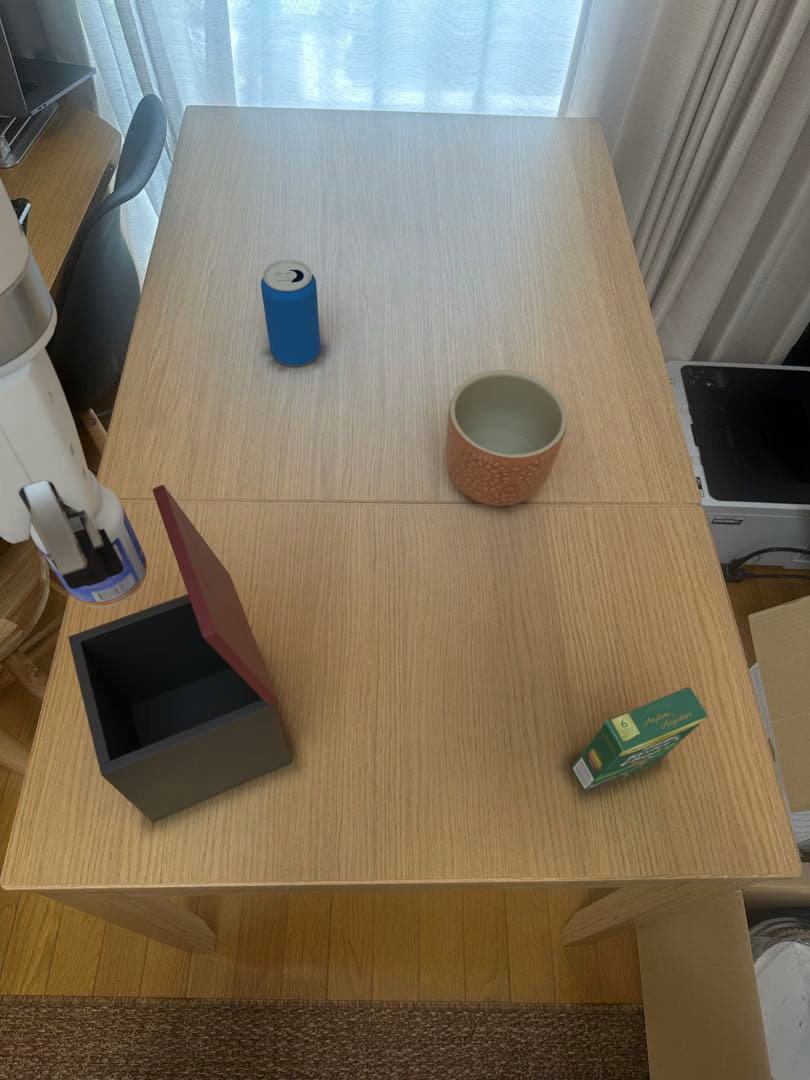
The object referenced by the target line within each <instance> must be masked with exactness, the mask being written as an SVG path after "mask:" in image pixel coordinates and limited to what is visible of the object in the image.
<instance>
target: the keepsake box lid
mask: <svg viewBox="0 0 810 1080" xmlns="http://www.w3.org/2000/svg"><path fill="white" fill-rule="evenodd" d="M152 493H153V496H154V499H155V502H156V505H157V508H158V511H159V514H160V517H161V520H162V522H163V525H164V528H165V531H166V534H167V536H168V540H169V543H170V545H171V549H172V552H173V555H174V557H175V561H176V563H177V566H178V569H179V572H180V575H181V577H182V580H183V584H184V588H185V589H186V592H187V594H188V595H189V598H190V601H191V604H192V607H193V610H194V613H195V616H196V619H197V621H198V624H199V627H200V630H201V633H202V636H203V638H204V639H205V640H206V641H207V642H208V643H209V644H210V645H211V646H212V647H213V648H214V649H215V650H216V651H217V652H218V653H219V654H220V655H221V656H222V657H223V658H224V659H225V660H226V661H227V662H228V663H229V665H230V666H231V667H232V668H233V669H234V670H235V671H236V672H237V673H238V674H239V675H240V676H241V677H242V678H243V679H244V680H245V681H246V682H247V683H248V684H249V685H250V686H251V687H252V688H253V689H254V690H255V691H256V692H257V693H258V694H259V695H260V696H261V697H262V698H263V699H264V701H265V702H266V703H267V704H271V703H275V702H277V701H278V700H279V699H278V695H277V693H276V690H275V688H274V685H273V683H272V680H271V678H270V675H269V673H268V669H267V667H266V665H265V662H264V660H263V657H262V654H261V651H260V649H259V646H258V644H257V641H256V638H255V636H254V633H253V631H252V628H251V625H250V623H249V620H248V617H247V616H246V613H245V610H244V607H243V605H242V602H241V600H240V599H241V598H240V597H239V595H238V591H237V589H236V586H235V584H234V581H233V578H232V576H231V574H230V573H229V572H228V570H227V569H226V567H225V566H224V565H223V564H222V562H221V561H220V559H219V558H218V557H217V555H216V554H215V552H214V551H213V550H212V548H211V547H210V546H209V544H208V543H207V542H206V540H205V539H204V538H203V536H202V534H200V532H199V531H198V529H197V528H196V527H195V526H194V524H193V522H192V521H191V520H190V519H189V517H188V516H187V515H186V513H185V512H184V510H183V509H182V508H181V506H180V505H179V504H178V502H177V500H175V499H174V497H173V496H172V494H171V492H169V490H168V489H167V487H166V486H165V485H164V484H159V486H156V487H154V488H152Z"/></svg>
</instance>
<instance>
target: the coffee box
mask: <svg viewBox="0 0 810 1080" xmlns="http://www.w3.org/2000/svg"><path fill="white" fill-rule="evenodd" d="M708 717H709V716H708V713H707V711H706V710H705V709H704V707H703V705H702V703H701V702H700V701H699V698H697V696H696V694H695V693H694V691H693V689H692V688H691V687H690V686H686V687H684V688H682V689H680V690H677V691H675V692H672V693H670V694H667V695H665V696H662V697H661V698H658V699H656V700H653V701H651V702H649V703H646V704H644V705H641V706H639V707H638V708H637V707H636V708H634V709H632V710H630V711H627V712H624V713H622V714H620V715H618V716H615V717H613V718H611V719H608V720H606V721H605V722H604V724H603V725H602V726H601V727H600V729H599V730H598V731H597V732H596V734H595V736H594V737H593V738H592V739H591V740H590V742H589V743H588V745H587V746H586V747H585V748H584V750H583V751H582V752H581V753H580V755H579V756H578V757H577V758H576V760H575V761H574V763H573V764H572V765H571V771H572V772H573V774H574V775H575V778H576V779H577V781H578V783H579V784H580V786H581V788H582V789H583V791H584V793H585V794H587V793H590V792H592V791H594V790H597V789H599V788H602V787H604V786H607V785H610V784H612V783H614V782H617V781H619V780H621V779H624V778H627V777H628V776H631V775H633V774H636V773H639V772H642V771H644V770H645V769H648V768H651V767H653V766H655V765H658V764H659V763H660V762H661V760H663V759H664V758H665V757H666V756H668V754H669V753H670V752H671V751H672V750H673V749H674V748H676V746H678V744H680V743H681V742H682V741H684V739H685V738H687V736H689V735H690V734H691V733H692V732H693V731H695V730H696V728H697V727H698V726H699V725H701V723H703V722H704V721H705V720H707V718H708Z"/></svg>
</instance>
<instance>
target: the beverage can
mask: <svg viewBox="0 0 810 1080" xmlns="http://www.w3.org/2000/svg"><path fill="white" fill-rule="evenodd" d="M312 271H313V270H312V268H310V266H309V265H308V264H307V263H305V262H304V261H301V260H300V259H299V260H298V259H294V258H283V259H278V260H275V261H273V262H271V263H269V264H268V265H267V266H266V267H265V268H264V270H263V273H262V277H261V281H260V290H261V295H262V296H261V297H262V303H263V311H264V317H265V318H264V319H265V324H266V331H267V339H268V344H269V351H270V355H271V356H272V358H273V359H274V360H276V361H277V362H278V363H280V364H282V365H286V366H291V367H299V366H304V365H307V364H309V363H311V362H313V361H314V360H316V359H317V358H318V356H320V353H321V350H322V344H321V331H320V318H319V302H318V301H319V300H318V290H317V289H318V288H317V280H316V277H315V275H314V274H313V272H312Z"/></svg>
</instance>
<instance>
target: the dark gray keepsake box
mask: <svg viewBox="0 0 810 1080" xmlns="http://www.w3.org/2000/svg"><path fill="white" fill-rule="evenodd" d="M68 643H69V648H70V651H71V656H72V661H73V664H74V668H75V672H76V676H77V681H78V684H79V689H80V693H81V697H82V702H83V706H84V710H85V714H86V718H87V723H88V727H89V730H90V734H91V740H92V743H93V748H94V751H95V756H96V760H97V764H98V768H99V772H100V776H101V777H103V778H104V779H105V780H106V781H107V782H108V783H109V784H110V785H111V786H112V787H113V788H115V789H116V790H117V791H118V792H119V793H120V794H121V795H122V796H123V797H124V798H125V799H126V800H127V801H129V802H130V803H131V805H133V806H134V807H135V808H136V809H137V810H138V811H140V812H141V814H143V815H144V816H145V817H146V818H147V819H148V820H149V821H150V822H151V823H152V824H155V823H158V822H160V821H162V820H165V819H167V818H169V817H172V816H173V815H176V814H178V813H180V812H183V811H185V810H187V809H190V808H192V807H195V806H197V805H199V804H201V803H204V802H206V801H209V800H210V799H213V798H216V797H218V796H220V795H222V794H225V793H227V792H229V791H231V790H234V789H236V788H239V787H241V786H243V785H245V784H247V783H250V782H252V781H254V780H257V779H259V778H261V777H264V776H266V775H269V774H270V773H273V772H275V771H279V770H281V769H282V768H284V767H287V766H289V765H291V764H292V760H291V757H290V754H289V750H288V746H287V742H286V740H285V736H284V733H283V729H282V727H281V723H280V720H279V716H278V714H277V713H278V712H277V710H276V707H275V702H273V703H271V704H267V703H266V702H265V701H264V699H263V698H262V697H261V696H260V695H259V694H258V693H257V692H256V691H255V690H254V689H253V688H252V687H251V686H250V685H249V684H248V683H247V682H246V681H245V680H244V679H243V678H242V677H241V676H240V675H239V674H238V673H237V672H236V671H235V670H234V669H233V668H232V667H231V666H230V665H229V663H228V662H227V661H226V660H225V659H224V658H223V657H222V656H221V655H220V654H219V653H218V652H217V651H216V650H215V649H214V648H213V647H212V646H211V645H210V644H209V643H208V642H207V641H206V640H205V639H204V638H203V636H202V633H201V630H200V627H199V624H198V621H197V619H196V616H195V613H194V610H193V607H192V604H191V601H190V598H189V595H188V593H187V594H184V595H181V596H179V597H176V598H173V599H170V600H167V601H164V602H162V603H159V604H156V605H152V606H151V607H148V608H144V609H142V610H139V611H136V612H134V613H131V614H128V615H124V616H122V617H119V618H117V619H113V620H111V621H108V622H106V623H103V624H100V625H97V626H94V627H91V628H88V629H86V630H83V631H80V632H77V633H75V634H72V635H68Z"/></svg>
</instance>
